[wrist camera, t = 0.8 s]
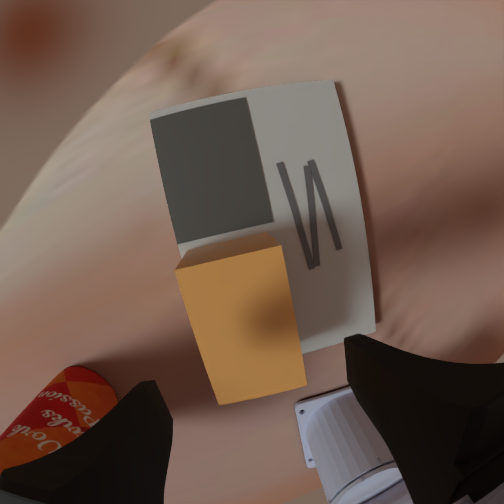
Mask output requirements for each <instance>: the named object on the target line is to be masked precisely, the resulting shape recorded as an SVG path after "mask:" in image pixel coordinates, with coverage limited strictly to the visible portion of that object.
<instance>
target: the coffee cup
mask: <svg viewBox="0 0 504 504" xmlns="http://www.w3.org/2000/svg"><path fill="white" fill-rule="evenodd" d="M117 403H118V398H117V395H116V393H115V391H114V390H113V388H112V387H111V385H110V384H109V383H108V382H107V381H106V380H105V379H104V378H103V377H101V376H100V375H99V374H97V373H96V372H94V371H92V370H90V369H87V368H84V367H79V366H72V367H68V368H66V369H64V370H63V371H61V372H60V373H59V374H58V375H57V376H56V377H55V378H54V379H53V380H52V381H51V382H50V383H49V384H48V385H47V386H46V387H45V388H44V389H43V390H42V391H41V392H40V393H39V394H38V395H37V396H36V397H35V398H34V400H33V401H32V402H31V403H30V404H29V405H28V406H27V407H26V408H25V409H24V410H23V411H22V412H21V414H20V415H19V416H18V417H17V418H16V419H15V420H14V421H13V422H12V423H11V425H10V426H9V427H8V428H7V429H6V430H5V431H4V433H3V434H2V435H1V436H0V474H1V473H2V471H3V470H4V469H6V468H10V467H14V466H18V465H21V464H25V463H28V462H31V461H33V460H36V459H38V458H41V457H43V456H45V455H48V454H50V453H52V452H54V451H56V450H57V449H59V448H61V447H63V446H64V445H66V444H68V443H70V442H71V441H73V440H74V439H76V438H77V437H79V436H80V435H82V434H83V433H84V432H86V431H87V430H88V429H90V428H91V427H92V426H93V425H95V424H96V423H97V422H98V421H99V420H100V419H101V418H102V417H104V416H105V415H106V414H107V413H108V412H109V411H110V410H111V409H112V408H113V407H114V406H115V405H116V404H117Z"/></svg>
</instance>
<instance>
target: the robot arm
mask: <svg viewBox="0 0 504 504" xmlns="http://www.w3.org/2000/svg"><path fill="white" fill-rule="evenodd" d="M344 346H345V357H346V369H347V381H348V383H349V385H350V386H349V387H346V388H343V389H340V390H337V391H333V392H330V393H327V394H324V395H320V396H317V397H313V398H310V399H306V400H303V401H299V402H297V403H296V404H295V411H296V416H297V421H298V426H299V431H300V436H301V441H302V446H303V451H304V456H305V461H306V465H307V467H308V468H313V467H316V468H317V471H318V474H319V477H320V480H321V483H322V486H323V488H324V491H325V494H326V497H327V500H328V503H329V504H504V363H495V364H466V363H454V362H446V361H441V360H436V359H430V358H426V357H422V356H419V355H415V354H412V353H409V352H406V351H403V350H400V349H397V348H395V347H392V346H389V345H387V344H384V343H382V342H379V341H377V340H375V339H372V338H370V337H367V336H365V335H362V334H359V333H358V334H355V335H352V336H348V337H345V338H344ZM301 410H304V411H302V412H300V411H301ZM172 437H173V418H172V416H171V414H170V412H169V410H168V408H167V406H166V404H165V402H164V400H163V398H162V395H161V393H160V391H159V389H158V387H157V384H156V382H155V380H152V381H144V382H140V383H139V384H137V385H136V386H135V387H134V388H133V389H132V390H131V391H130V392H129V393H128V394H127V395H126V396H125V397H124V398H123V399H122V400H121V401H120V402H118V403H117V404H116V405H115V406H114V407H113V408H112V409H111V410H110V411H109V412H108V413H107V414H106V415H105V416H104V417H102V418H101V419H100V420H99V421H98V422H97V423H96V424H95V425H93V426H92V427H91V428H90V429H88V430H87V431H86V432H84V433H83V434H82V435H80V436H79V437H77V438H76V439H74V440H73V441H71V442H70V443H68V444H66V445H64V446H63V447H61V448H59V449H57V450H56V451H54V452H52V453H50V454H48V455H45V456H43V457H41V458H38V459H36V460H33V461H31V462H28V463H25V464H21V465H18V466H14V467H10V468H6V469H4V470H3V471H2V473H1V474H0V504H164V488H165V481H166V475H167V469H168V463H169V458H170V452H171V446H172Z"/></svg>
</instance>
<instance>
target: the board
mask: <svg viewBox="0 0 504 504" xmlns="http://www.w3.org/2000/svg"><path fill="white" fill-rule="evenodd" d="M149 115H150V122H151V128H152V133H153V138H154V143H155V148H156V153H157V158H158V163H159V168H160V172H161V177H162V182H163V186H164V191H165V195H166V199H167V204H168V208H169V212H170V216H171V220H172V224H173V228H174V232H175V236H176V240H177V244H178V247H179V251H180V254H181V258H183V256H184V255H185V253H186V252H187V250H190V249H194V248H199V247H203V246H207V245H211V244H216V243H220V242H224V241H228V240H233V239H237V238H241V237H246V236H250V235H254V234H259V233H263V232H268V233H269V234H270V235H271V236H272V237H273V238H274V239H275V240H276V241H277V242H278V243H279V244H281V246H282V251H283V256H284V261H285V266H286V271H287V276H288V281H289V286H290V292H291V297H292V302H293V307H294V313H295V318H296V324H297V329H298V335H299V340H300V346H301V351H302V354H304V353H307V352H311V351H315V350H318V349H322V348H325V347H328V346H332V345H335V344H338V343H342V342H344V338H345V337H348V336H352V335H355V334H358V333H359V334H362V335H367V334H370V333H372V332H375V331H376V328H375V312H374V299H373V288H372V278H371V268H370V260H369V252H368V244H367V236H366V229H365V223H364V216H363V210H362V204H361V198H360V193H359V187H358V182H357V177H356V172H355V167H354V162H353V157H352V152H351V148H350V143H349V139H348V135H347V131H346V126H345V122H344V118H343V114H342V111H341V107H340V103H339V99H338V96H337V92H336V89H335V85H334V82H333V80H320V81H309V82H299V83H290V84H282V85H275V86H268V87H261V88H255V89H249V90H243V91H238V92H233V93H228V94H223V95H218V96H213V97H208V98H204V99H200V100H195V101H191V102H187V103H183V104H179V105H176V106H172V107H168V108H165V109H161V110H158V111H154V112H151V113H149Z"/></svg>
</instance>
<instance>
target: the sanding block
mask: <svg viewBox="0 0 504 504" xmlns="http://www.w3.org/2000/svg"><path fill="white" fill-rule="evenodd" d="M175 273H176V276H177V280H178V283H179V287H180V290H181V294H182V297H183V300H184V304H185V307H186V310H187V313H188V317H189V320H190V323H191V326H192V329H193V332H194V335H195V339H196V342H197V345H198V348H199V351H200V354H201V356H202V359H203V362H204V365H205V368H206V371H207V374H208V377H209V379H210V382H211V385H212V388H213V390H214V393H215V396H216V399H217V401H218V404H219V405H224V404H229V403H234V402H239V401H244V400H249V399H254V398H259V397H263V396H267V395H272V394H276V393H280V392H284V391H288V390H292V389H296V388H299V387H303V386H307V380H306V374H305V369H304V363H303V357H302V351H301V346H300V340H299V335H298V329H297V324H296V318H295V313H294V307H293V302H292V297H291V292H290V286H289V281H288V276H287V271H286V266H285V261H284V256H283V251H282V246H281V244H279V243H278V242H277V241H276V240H275V239H274V238H273V237H272V236H271V235H270V234H269V233H268V232H263V233H259V234H254V235H250V236H246V237H241V238H237V239H233V240H228V241H224V242H220V243H216V244H211V245H207V246H203V247H199V248H194V249H190V250H187V252H186V253H185V255H184V256H183V258H182V260H181V261H180V263H179V264H178V266H177V267H176V269H175Z"/></svg>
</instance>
